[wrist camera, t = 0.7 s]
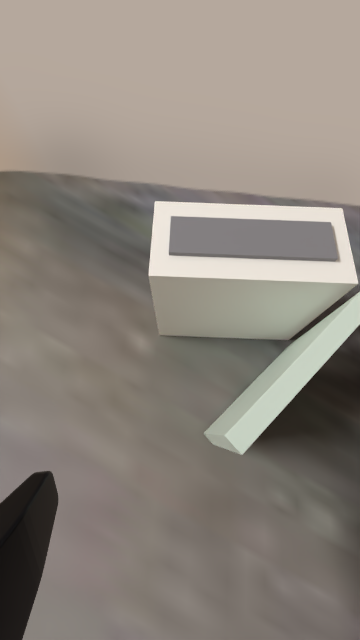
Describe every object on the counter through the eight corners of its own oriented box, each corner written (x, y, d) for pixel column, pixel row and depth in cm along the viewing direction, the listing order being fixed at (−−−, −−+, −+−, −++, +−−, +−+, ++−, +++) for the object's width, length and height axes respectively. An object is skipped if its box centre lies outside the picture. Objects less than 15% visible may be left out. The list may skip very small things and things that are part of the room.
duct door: (298, 354, 24) (378, 303, 14) (212, 444, 21) (242, 454, 12) (288, 345, 24) (361, 290, 14) (203, 433, 21) (224, 435, 12)
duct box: (288, 340, 24) (361, 280, 15) (159, 335, 24) (147, 272, 15) (282, 287, 26) (344, 204, 16) (162, 283, 26) (154, 197, 16)
